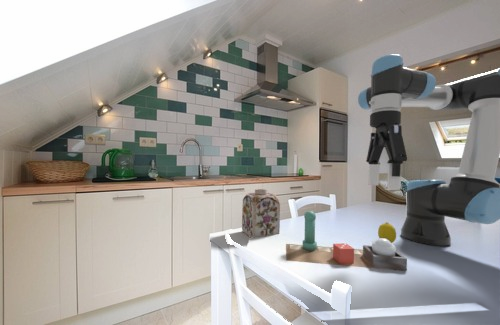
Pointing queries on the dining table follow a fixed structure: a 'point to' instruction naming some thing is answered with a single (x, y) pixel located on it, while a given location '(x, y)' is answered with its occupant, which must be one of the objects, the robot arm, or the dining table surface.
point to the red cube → (343, 253)
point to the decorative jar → (260, 214)
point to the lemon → (387, 232)
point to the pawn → (309, 232)
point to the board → (360, 260)
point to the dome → (383, 247)
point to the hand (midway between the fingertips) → (382, 187)
